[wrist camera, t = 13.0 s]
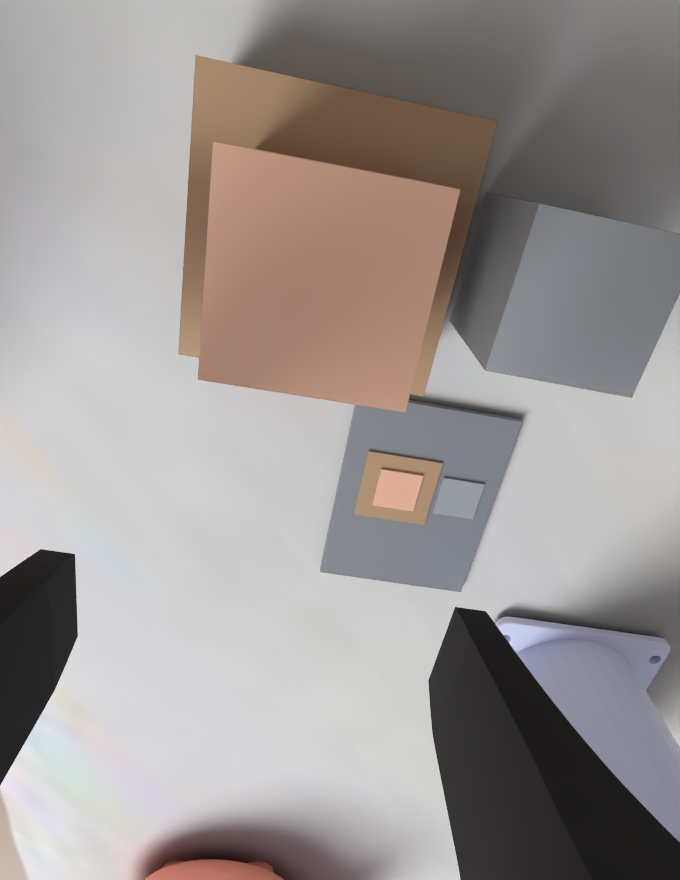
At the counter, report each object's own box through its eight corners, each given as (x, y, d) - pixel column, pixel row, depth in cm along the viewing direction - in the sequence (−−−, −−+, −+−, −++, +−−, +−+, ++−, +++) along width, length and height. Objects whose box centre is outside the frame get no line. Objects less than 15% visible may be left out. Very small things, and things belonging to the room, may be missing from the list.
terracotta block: (385, 338, 15) (405, 412, 11) (239, 314, 15) (197, 379, 10) (419, 180, 14) (460, 189, 9) (255, 148, 13) (212, 141, 9)
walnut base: (409, 358, 19) (423, 396, 16) (205, 321, 19) (178, 354, 15) (466, 129, 16) (498, 121, 13) (224, 77, 15) (195, 55, 12)
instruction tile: (459, 587, 24) (461, 595, 23) (320, 567, 23) (320, 575, 23) (520, 418, 20) (524, 424, 20) (358, 391, 20) (358, 396, 19)
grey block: (562, 342, 19) (631, 397, 15) (449, 320, 19) (485, 370, 14) (609, 219, 17) (704, 238, 13) (485, 192, 17) (539, 203, 12)
